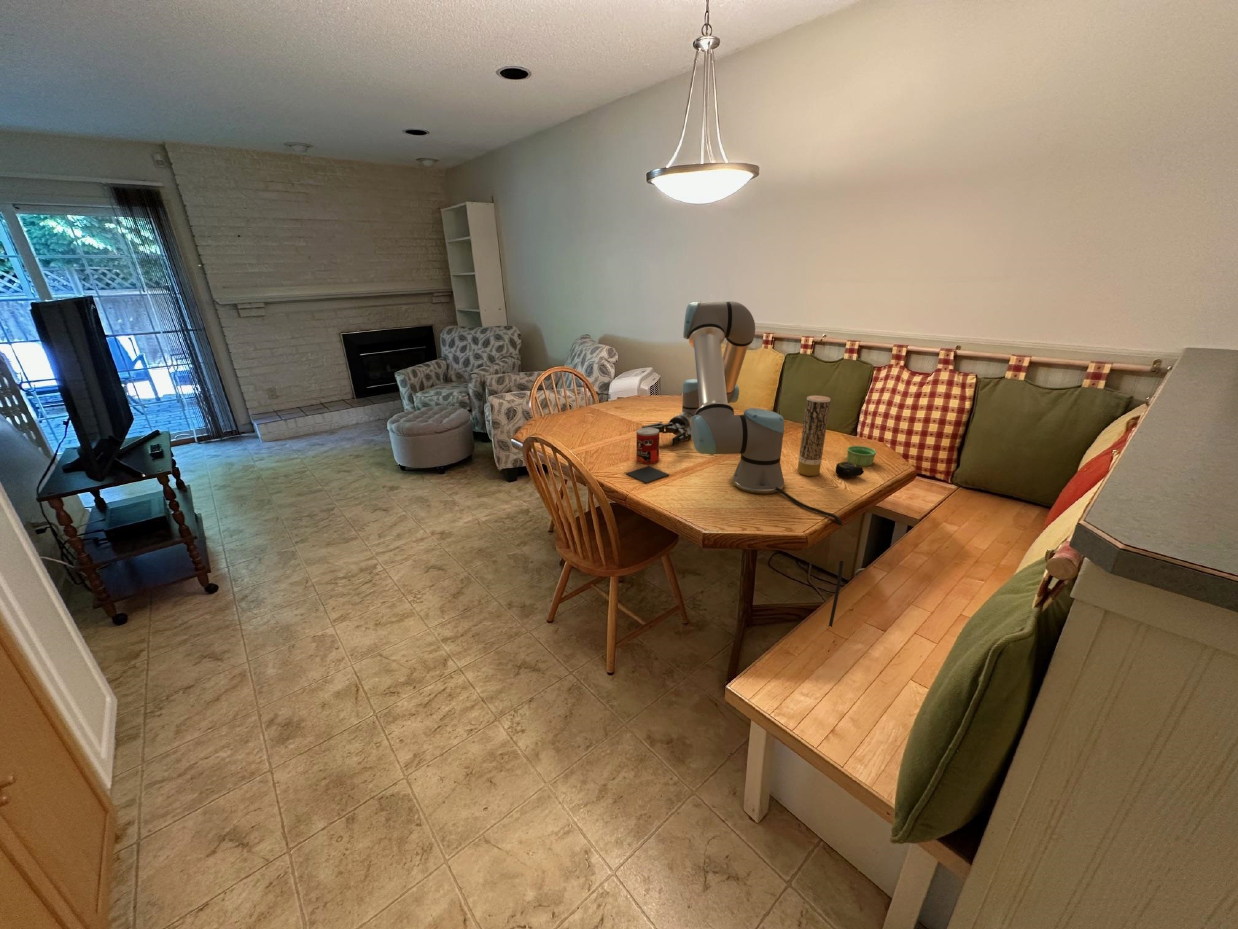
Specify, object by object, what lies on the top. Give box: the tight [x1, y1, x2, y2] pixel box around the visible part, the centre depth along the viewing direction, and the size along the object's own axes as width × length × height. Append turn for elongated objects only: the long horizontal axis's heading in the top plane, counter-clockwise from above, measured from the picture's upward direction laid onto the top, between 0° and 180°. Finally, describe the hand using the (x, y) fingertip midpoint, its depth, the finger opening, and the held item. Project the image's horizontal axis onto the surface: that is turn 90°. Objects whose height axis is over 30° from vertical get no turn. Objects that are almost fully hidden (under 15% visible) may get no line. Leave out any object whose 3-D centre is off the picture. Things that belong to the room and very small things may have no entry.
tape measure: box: [835, 461, 865, 479], centre depth 153 cm, size 7×7×4 cm
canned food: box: [635, 427, 660, 465], centre depth 167 cm, size 8×8×11 cm
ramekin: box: [846, 445, 877, 467], centre depth 164 cm, size 9×9×4 cm
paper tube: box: [797, 395, 831, 477], centre depth 152 cm, size 7×7×25 cm
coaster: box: [625, 465, 670, 484], centre depth 157 cm, size 10×10×1 cm
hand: (656, 439), depth 172 cm, fingers open, 13 cm apart
